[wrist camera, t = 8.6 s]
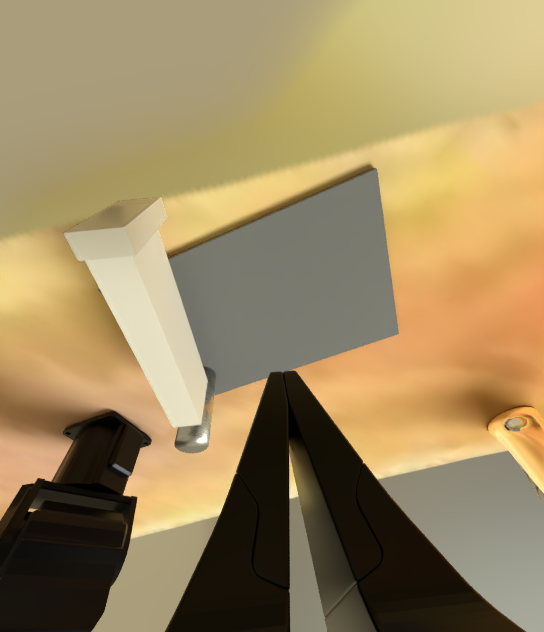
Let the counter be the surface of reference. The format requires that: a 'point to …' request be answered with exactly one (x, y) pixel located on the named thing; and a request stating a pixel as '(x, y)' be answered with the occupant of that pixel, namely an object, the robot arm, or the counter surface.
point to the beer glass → (523, 441)
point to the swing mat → (291, 285)
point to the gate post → (198, 435)
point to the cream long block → (145, 300)
